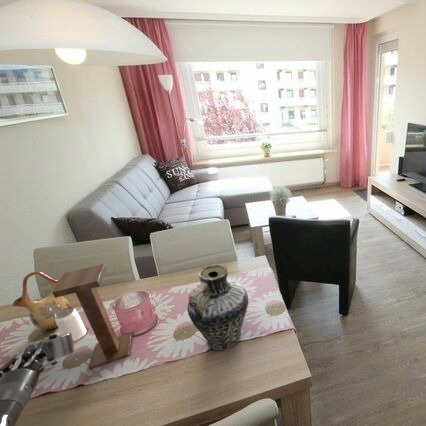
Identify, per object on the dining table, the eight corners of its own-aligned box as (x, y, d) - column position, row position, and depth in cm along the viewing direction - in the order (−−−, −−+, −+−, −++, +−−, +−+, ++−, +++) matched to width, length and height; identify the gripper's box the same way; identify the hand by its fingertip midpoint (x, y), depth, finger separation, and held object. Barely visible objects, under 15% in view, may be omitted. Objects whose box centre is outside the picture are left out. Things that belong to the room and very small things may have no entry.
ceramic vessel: (75, 308, 126) (51, 259, 116) (86, 314, 122) (62, 264, 112) (26, 335, 113) (-5, 282, 103) (37, 343, 109) (6, 288, 99)
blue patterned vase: (217, 317, 117) (201, 252, 105) (262, 323, 113) (251, 256, 101) (185, 361, 98) (162, 288, 87) (238, 369, 94) (221, 295, 83)
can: (83, 328, 115) (72, 304, 110) (90, 335, 111) (78, 310, 107) (63, 339, 110) (50, 314, 105) (69, 346, 107) (56, 321, 102)
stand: (91, 370, 97) (52, 292, 84) (98, 346, 106) (63, 273, 93) (129, 357, 101) (97, 281, 88) (132, 335, 110) (104, 263, 98)
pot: (4, 380, 76) (1, 353, 77) (45, 358, 95) (42, 336, 96) (47, 367, 80) (44, 341, 80) (79, 348, 99) (75, 327, 99)
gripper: (-20, 418, 70) (13, 363, 84) (52, 393, 75) (72, 345, 90) (-36, 397, 67) (1, 344, 82) (40, 372, 72) (62, 326, 87)
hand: (38, 344), depth 86 cm, fingers closed on pot
